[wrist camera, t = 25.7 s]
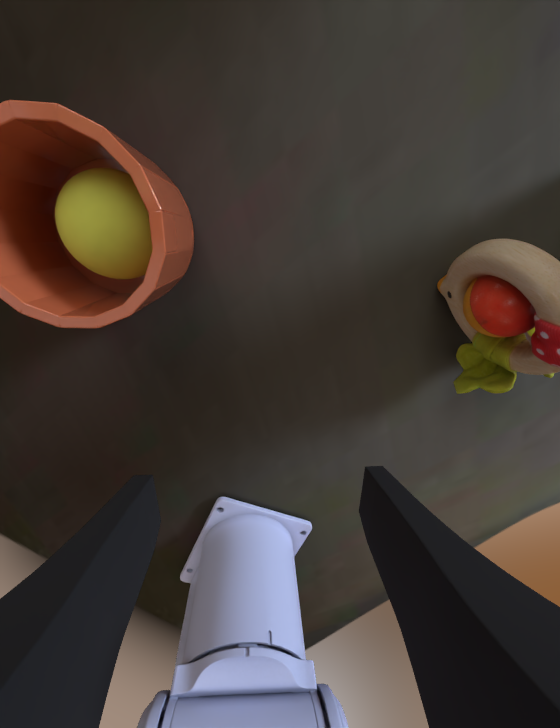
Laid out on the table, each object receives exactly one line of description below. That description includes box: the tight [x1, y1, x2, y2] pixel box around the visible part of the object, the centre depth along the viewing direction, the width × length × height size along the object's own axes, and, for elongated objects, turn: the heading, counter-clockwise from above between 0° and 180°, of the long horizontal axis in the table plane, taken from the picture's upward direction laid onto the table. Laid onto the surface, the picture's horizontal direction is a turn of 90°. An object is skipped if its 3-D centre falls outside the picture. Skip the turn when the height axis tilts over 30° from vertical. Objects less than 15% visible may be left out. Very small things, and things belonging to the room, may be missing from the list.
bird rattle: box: [437, 239, 560, 394], centre depth 15 cm, size 6×11×9 cm
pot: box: [0, 100, 194, 328], centre depth 14 cm, size 7×7×6 cm
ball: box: [55, 168, 152, 279], centre depth 14 cm, size 5×5×5 cm
